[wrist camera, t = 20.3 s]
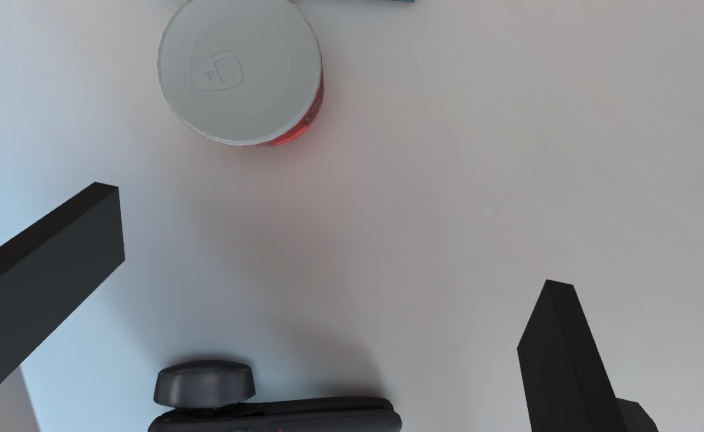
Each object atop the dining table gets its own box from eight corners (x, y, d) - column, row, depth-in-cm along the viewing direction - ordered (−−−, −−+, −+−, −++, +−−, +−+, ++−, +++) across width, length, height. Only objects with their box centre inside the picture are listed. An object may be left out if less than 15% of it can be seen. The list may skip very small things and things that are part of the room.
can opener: (160, 438, 38) (131, 488, 33) (163, 351, 37) (134, 386, 32) (391, 450, 39) (402, 500, 34) (400, 365, 38) (412, 402, 33)
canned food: (187, 80, 35) (122, 49, 24) (278, 9, 34) (255, -55, 23) (255, 169, 36) (223, 178, 25) (345, 101, 35) (353, 80, 24)
